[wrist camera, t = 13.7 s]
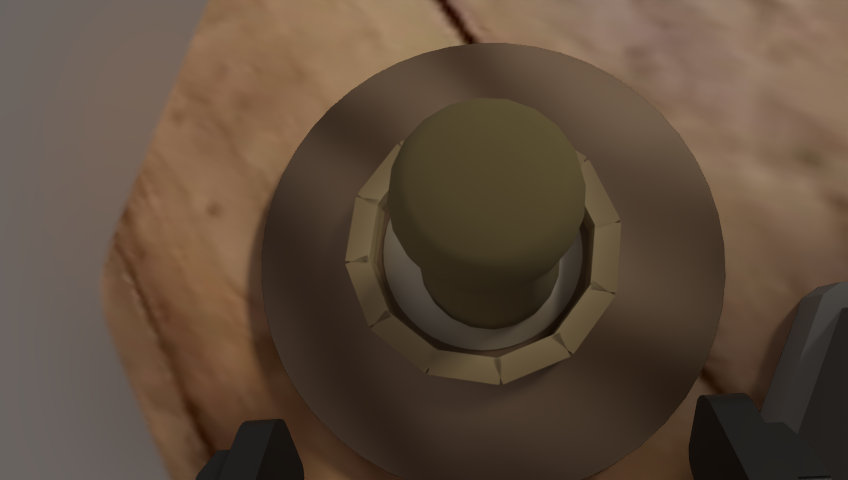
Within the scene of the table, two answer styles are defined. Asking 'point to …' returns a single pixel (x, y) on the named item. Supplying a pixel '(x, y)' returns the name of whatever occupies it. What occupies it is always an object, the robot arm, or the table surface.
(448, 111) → the cork
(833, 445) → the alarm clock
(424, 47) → the table surface
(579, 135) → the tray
